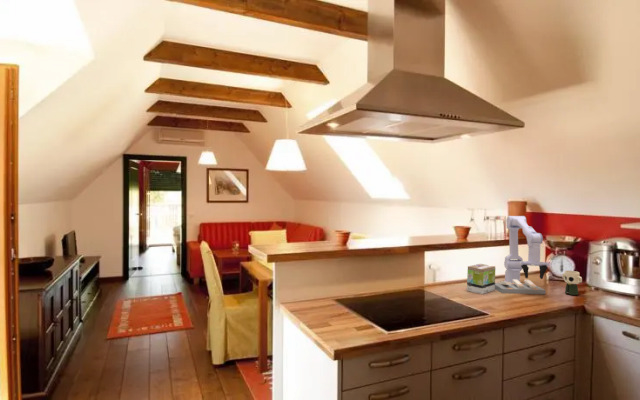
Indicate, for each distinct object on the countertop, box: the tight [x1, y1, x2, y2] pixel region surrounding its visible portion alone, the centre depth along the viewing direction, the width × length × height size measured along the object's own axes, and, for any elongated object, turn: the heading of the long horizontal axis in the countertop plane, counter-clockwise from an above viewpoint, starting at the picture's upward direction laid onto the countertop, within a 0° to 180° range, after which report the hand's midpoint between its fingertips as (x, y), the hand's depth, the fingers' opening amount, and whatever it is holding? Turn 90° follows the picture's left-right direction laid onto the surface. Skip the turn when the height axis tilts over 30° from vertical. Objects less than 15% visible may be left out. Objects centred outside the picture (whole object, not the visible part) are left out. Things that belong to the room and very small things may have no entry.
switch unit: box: [495, 282, 546, 295], centre depth 210 cm, size 14×24×3 cm, turn 86°
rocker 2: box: [512, 279, 524, 288], centre depth 210 cm, size 8×3×2 cm, turn 176°
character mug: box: [561, 270, 583, 296], centre depth 202 cm, size 11×7×13 cm, turn 19°
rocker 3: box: [523, 279, 537, 288], centre depth 209 cm, size 8×3×2 cm, turn 176°
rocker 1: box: [499, 281, 511, 285], centre depth 210 cm, size 8×3×2 cm, turn 176°
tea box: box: [466, 263, 496, 295], centre depth 209 cm, size 15×10×15 cm
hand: (533, 278), depth 201 cm, fingers open, 7 cm apart
